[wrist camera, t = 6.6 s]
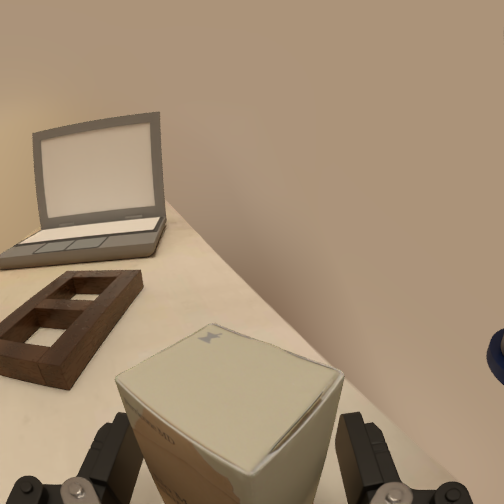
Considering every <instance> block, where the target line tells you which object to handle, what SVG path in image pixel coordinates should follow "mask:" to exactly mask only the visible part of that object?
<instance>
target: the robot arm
mask: <svg viewBox="0 0 504 504" xmlns="http://www.w3.org/2000/svg"><path fill="white" fill-rule="evenodd" d="M501 351H502V353H503V355H504V335H503V338H502V341H501ZM335 448H336V454H337V458H338V462H339V466H340V471H341V475H342V479H343V484H344V488H345V493H346V497H347V502H348V504H473V502H472V500H471V497H470V495H469V492H468V490H467V488H466V487H465V486H464V485H462V484H461V483H458V482H447V483H444V484H442V485H441V486H440V487H439V488H438V489H437V490H414V489H411V488H409V487H408V486H407V485H405V484H403V483H402V481H401V480H400V478H399V475H398V473H397V470H396V467H395V465H394V462H393V459H392V457H391V454H390V451H389V450H388V446H387V444H386V443H385V439H384V436H383V433H382V431H381V430H380V429H379V428H378V427H377V426H376V425H375V424H374V423H373V422H372V423H366V424H364V421H363V418H362V415H361V413H360V412H354V413H346V414H341V415H340V418H339V423H338V428H337V433H336V438H335ZM143 458H144V457H143V454H142V452H141V449H140V447H139V445H138V442H137V440H136V437H135V435H134V432H133V429H132V427H131V424H130V422H129V419H128V416H127V413H121V412H118V413H117V414H116V416H115V419H114V421H113V423H106V424H105V425H103V426H102V427H101V428H100V429H99V430H98V432H97V434H96V436H95V438H94V441H93V443H92V445H91V449H89V451H88V453H87V455H86V457H85V460H84V462H83V464H82V466H81V468H80V471H79V473H78V475H77V476H76V477H73V478H70V479H68V480H66V481H65V482H64V483H63V484H62V485H49V484H42V483H41V482H40V481H39V480H38V479H37V478H36V477H33V476H23V477H21V478H19V479H18V480H17V481H16V483H15V484H14V487H13V489H12V491H11V493H10V495H9V497H8V499H7V502H6V504H130V500H131V497H132V494H133V490H134V487H135V484H136V480H137V477H138V474H139V471H140V467H141V464H142V461H143Z"/></svg>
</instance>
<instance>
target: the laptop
mask: <svg viewBox="0 0 504 504" xmlns="http://www.w3.org/2000/svg"><path fill="white" fill-rule="evenodd" d="M32 136H33V157H34V172H35V183H36V193H37V202H38V210H39V217H40V224H41V230H40V231H38V232H37V233H35V234H33V235H31V236H30V237H28V238H26V239H24V240H23V241H21V242H19V243H18V244H16V245H14V246H13V247H11V248H10V249H8V250H7V251H5V252H3V253H2V254H0V269H2V270H4V269H15V268H26V267H37V266H48V265H60V264H71V263H82V262H94V261H105V260H117V259H128V258H140V257H149V256H150V255H151V254H152V253H153V252H154V250H155V248H156V245H157V243H158V240H159V238H160V235H161V233H162V231H163V228H164V226H165V223H166V221H167V219H166V211H165V199H164V186H163V171H162V156H161V155H162V154H161V132H160V112H152V113H143V114H135V115H127V116H120V117H114V118H107V119H100V120H94V121H89V122H83V123H78V124H73V125H67V126H63V127H58V128H53V129H49V130H44V131H40V132H36V133H33V135H32Z"/></svg>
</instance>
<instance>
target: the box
mask: <svg viewBox="0 0 504 504" xmlns="http://www.w3.org/2000/svg"><path fill="white" fill-rule="evenodd" d="M344 377H345V376H344V373H343V372H342V371H341V370H339V369H337V368H334V367H331V366H328V365H325V364H322V363H319V362H317V361H314V360H311V359H308V358H305V357H302V356H300V355H297V354H294V353H292V352H289V351H286V350H283V349H281V348H279V347H277V346H275V345H272V344H270V343H266V342H263V341H259V340H256V339H254V338H251V337H249V336H246V335H243V334H240V333H238V332H235V331H233V330H230V329H228V328H225V327H223V326H221V325H218V324H215V323H210V324H208V325H207V326H205V327H203V328H202V329H200V330H198V331H197V332H195V333H193V334H191V335H189V336H187V337H185V338H184V339H182V340H180V341H178V342H177V343H175V344H173V345H171V346H170V347H168V348H166V349H164V350H162V351H160V352H159V353H157V354H155V355H153V356H151V357H150V358H148V359H146V360H144V361H143V362H141V363H139V364H137V365H136V366H134V367H132V368H130V369H128V370H126V371H124V372H122V373H120V374H119V375H117V376H116V377H115V382H116V384H117V387H118V390H119V393H120V396H121V399H122V402H123V405H124V408H125V410H126V413H127V416H128V419H129V422H130V424H131V427H132V429H133V432H134V435H135V437H136V440H137V442H138V445H139V447H140V449H141V452H142V454H143V457H144V459H145V462H146V464H147V466H148V468H149V471H150V473H151V475H152V478H153V480H154V482H155V484H156V486H157V489H158V491H159V493H160V495H161V497H162V499H163V501H164V503H165V504H313V501H314V498H315V494H316V491H317V487H318V484H319V480H320V477H321V473H322V470H323V466H324V462H325V459H326V455H327V451H328V447H329V443H330V438H331V434H332V430H333V426H334V422H335V417H336V412H337V408H338V403H339V399H340V394H341V390H342V386H343V381H344Z"/></svg>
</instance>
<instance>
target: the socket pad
mask: <svg viewBox="0 0 504 504" xmlns="http://www.w3.org/2000/svg"><path fill="white" fill-rule="evenodd" d="M143 287H144V286H143V280H142V273H141V270H103V271H66V272H65V273H64V274H62V275H61V276H60V277H58V278H57V279H55V280H54V281H53V282H51V283H50V284H49V285H47V286H46V287H45V288H43V289H42V290H41V291H40V292H38V293H37V294H36V295H34V296H33V297H32V298H30V299H29V300H28V301H27V302H25V303H24V304H23V305H21V306H20V307H19V308H18V309H16V310H15V311H14V312H13V313H11V314H10V315H9V316H8V317H7V318H5V319H4V320H3V321H2V322H0V375H4V376H7V377H11V378H15V379H19V380H23V381H28V382H32V383H36V384H41V385H46V386H51V387H56V388H61V389H66V390H70V388H71V387H72V385H73V384H74V382H75V381H76V379H77V378H78V377H79V375H80V374H81V372H82V371H83V369H84V368H85V366H86V365H87V364H88V362H89V361H90V359H91V358H92V356H93V355H94V354H95V352H96V351H97V349H98V348H99V346H100V345H101V344H102V342H103V341H104V340H105V338H106V337H107V335H108V334H109V333H110V331H111V330H112V328H113V327H114V326H115V324H116V323H117V322H118V320H119V319H120V318H121V316H122V315H123V314H124V312H125V311H126V310H127V308H128V307H129V306H130V304H131V303H132V302H133V300H134V299H135V298H136V296H137V295H138V294H139V292H140V291H141V290H142V288H143ZM76 293H77V294H100V295H99V296H98V297H97V298H96V299H95V300H94V301H92V300H69V299H70V298H72V297H73V296H74V295H75V294H76ZM39 327H47V328H58V329H67V330H66V331H65V332H64V333H63V334H62V335H61V336H60V338H59V339H58V340H57V341H56V342H55V343H54V344H53V345H52V346H51V347H46V346H39V345H32V344H25V343H24V342H25V341H26V340H27V339H28V338H29V337H30V336H31V335H32V334H33V333H34V332H35V331H36V330H37V329H38V328H39Z"/></svg>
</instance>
